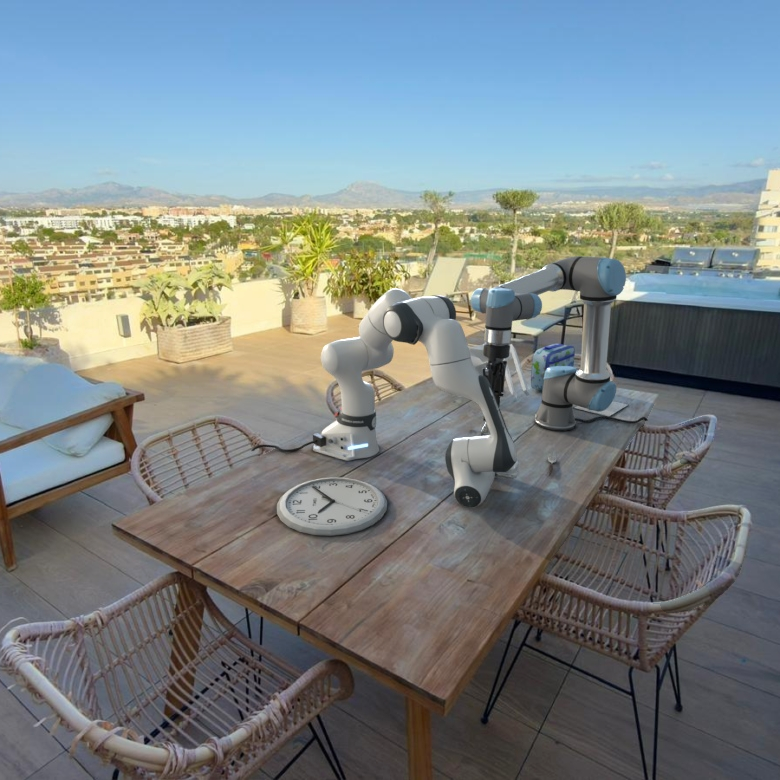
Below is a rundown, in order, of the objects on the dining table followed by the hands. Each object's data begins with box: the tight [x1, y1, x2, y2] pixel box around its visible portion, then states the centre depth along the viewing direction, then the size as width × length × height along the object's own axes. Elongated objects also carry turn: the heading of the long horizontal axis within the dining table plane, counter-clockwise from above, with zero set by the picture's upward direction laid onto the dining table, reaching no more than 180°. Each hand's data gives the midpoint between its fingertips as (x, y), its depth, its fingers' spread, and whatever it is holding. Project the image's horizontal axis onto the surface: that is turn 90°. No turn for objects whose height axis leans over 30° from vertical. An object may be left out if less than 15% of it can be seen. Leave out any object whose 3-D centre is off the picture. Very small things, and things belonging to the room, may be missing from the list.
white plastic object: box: [468, 343, 531, 400], centre depth 245 cm, size 37×45×31 cm
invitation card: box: [573, 400, 629, 417], centre depth 226 cm, size 21×1×15 cm
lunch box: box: [530, 343, 576, 391], centre depth 249 cm, size 26×11×21 cm, turn 134°
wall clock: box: [276, 476, 388, 537], centre depth 142 cm, size 30×2×30 cm
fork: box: [547, 451, 558, 477], centre depth 168 cm, size 3×16×2 cm, turn 160°
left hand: (488, 453), depth 163 cm, fingers closed on bottle, 5 cm apart
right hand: (491, 418), depth 158 cm, fingers closed on cap, 4 cm apart
